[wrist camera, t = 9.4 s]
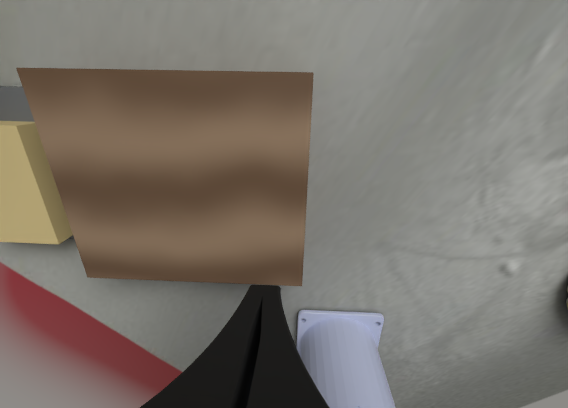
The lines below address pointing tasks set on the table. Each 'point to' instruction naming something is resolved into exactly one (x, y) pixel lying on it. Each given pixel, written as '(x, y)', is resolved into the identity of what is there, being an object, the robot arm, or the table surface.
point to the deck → (179, 170)
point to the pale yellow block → (28, 189)
